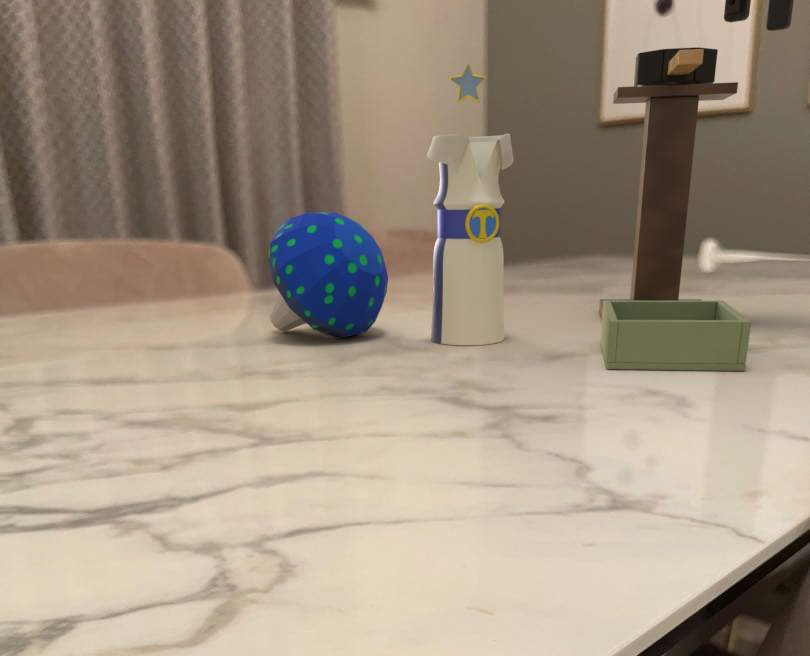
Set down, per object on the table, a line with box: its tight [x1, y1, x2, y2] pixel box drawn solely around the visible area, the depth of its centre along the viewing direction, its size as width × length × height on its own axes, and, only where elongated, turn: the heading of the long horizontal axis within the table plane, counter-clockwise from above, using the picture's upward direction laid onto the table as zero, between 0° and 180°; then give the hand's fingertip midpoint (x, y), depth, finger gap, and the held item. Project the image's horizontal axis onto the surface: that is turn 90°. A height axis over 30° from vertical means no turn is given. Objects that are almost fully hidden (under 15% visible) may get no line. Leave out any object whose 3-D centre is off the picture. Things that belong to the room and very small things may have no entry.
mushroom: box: [267, 211, 389, 339], centre depth 91 cm, size 14×14×15 cm
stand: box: [598, 81, 739, 321], centre depth 96 cm, size 12×8×24 cm, turn 80°
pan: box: [633, 46, 719, 86], centre depth 86 cm, size 8×17×3 cm, turn 170°
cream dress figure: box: [426, 62, 515, 346], centre depth 84 cm, size 8×8×25 cm
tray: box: [599, 300, 752, 372], centre depth 77 cm, size 11×13×4 cm
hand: (757, 25), depth 83 cm, fingers open, 8 cm apart
